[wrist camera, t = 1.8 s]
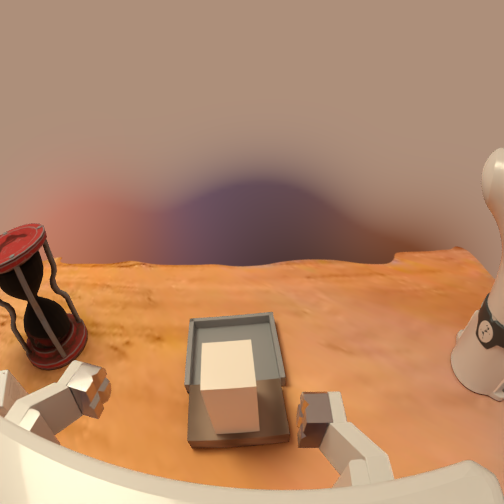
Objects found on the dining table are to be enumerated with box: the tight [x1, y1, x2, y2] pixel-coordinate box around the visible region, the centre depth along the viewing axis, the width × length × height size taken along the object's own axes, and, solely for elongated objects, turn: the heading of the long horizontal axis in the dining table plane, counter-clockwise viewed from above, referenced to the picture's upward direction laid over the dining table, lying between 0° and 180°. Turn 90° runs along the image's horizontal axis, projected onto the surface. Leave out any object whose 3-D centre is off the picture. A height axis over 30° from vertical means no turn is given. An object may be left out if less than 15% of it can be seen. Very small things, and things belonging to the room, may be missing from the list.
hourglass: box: [0, 223, 87, 370], centre depth 47 cm, size 16×16×25 cm
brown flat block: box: [187, 378, 290, 448], centre depth 40 cm, size 14×10×3 cm
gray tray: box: [184, 312, 286, 393], centre depth 52 cm, size 16×16×2 cm
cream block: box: [200, 339, 260, 434], centre depth 36 cm, size 6×7×12 cm
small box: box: [0, 370, 29, 417], centre depth 33 cm, size 8×6×10 cm
